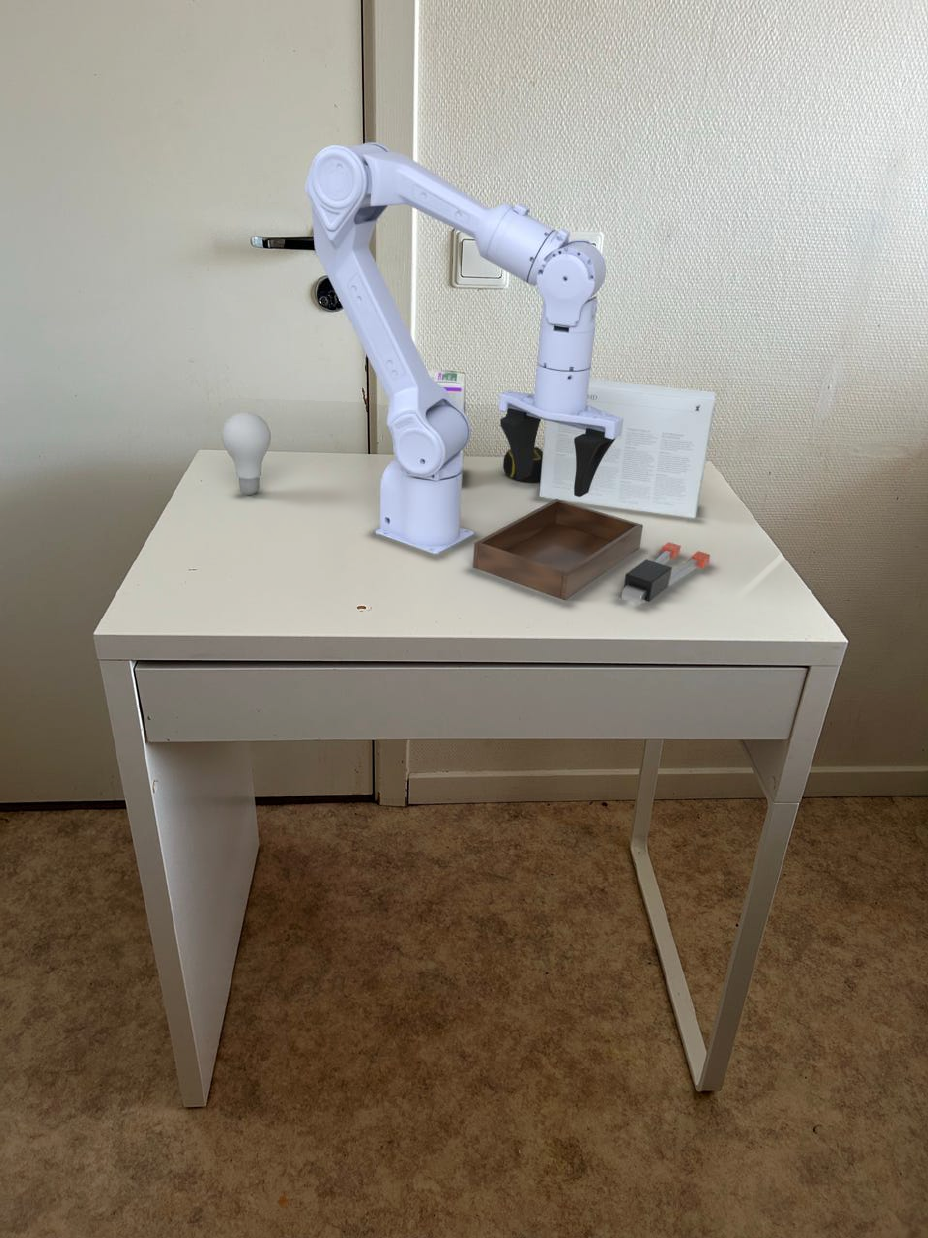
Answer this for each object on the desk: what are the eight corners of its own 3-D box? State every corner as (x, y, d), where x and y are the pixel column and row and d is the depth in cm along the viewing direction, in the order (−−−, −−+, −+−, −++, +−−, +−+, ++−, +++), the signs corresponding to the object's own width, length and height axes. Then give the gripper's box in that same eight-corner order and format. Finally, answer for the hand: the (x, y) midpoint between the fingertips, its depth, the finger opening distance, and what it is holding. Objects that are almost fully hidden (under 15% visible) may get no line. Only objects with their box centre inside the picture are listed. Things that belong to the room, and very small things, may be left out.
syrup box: (462, 486, 131) (467, 382, 124) (419, 484, 131) (422, 380, 124) (463, 472, 136) (468, 370, 129) (421, 470, 136) (424, 368, 129)
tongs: (708, 566, 113) (712, 545, 111) (651, 613, 102) (655, 590, 101) (666, 553, 115) (670, 532, 114) (607, 597, 105) (610, 575, 103)
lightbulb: (283, 493, 126) (279, 412, 121) (251, 507, 122) (245, 423, 116) (249, 482, 129) (244, 402, 124) (216, 495, 125) (209, 413, 119)
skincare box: (697, 506, 129) (717, 390, 122) (695, 521, 125) (717, 401, 117) (544, 485, 133) (554, 371, 126) (537, 499, 129) (547, 382, 121)
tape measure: (557, 485, 134) (560, 459, 132) (512, 488, 132) (514, 462, 130) (539, 468, 139) (542, 443, 137) (495, 471, 137) (497, 446, 135)
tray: (472, 570, 109) (474, 542, 107) (553, 524, 122) (555, 498, 120) (564, 604, 103) (567, 575, 101) (639, 551, 116) (643, 524, 114)
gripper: (642, 370, 100) (625, 491, 107) (526, 345, 107) (517, 460, 114) (610, 383, 95) (595, 509, 102) (491, 356, 102) (483, 476, 109)
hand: (551, 485), depth 108 cm, fingers open, 7 cm apart
